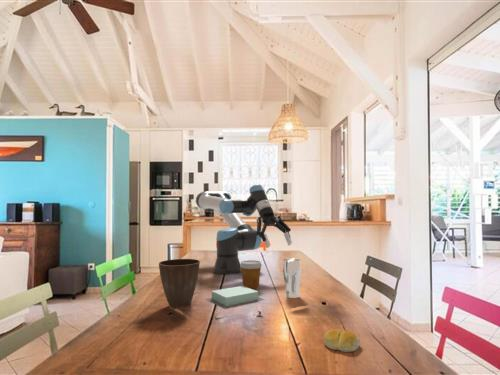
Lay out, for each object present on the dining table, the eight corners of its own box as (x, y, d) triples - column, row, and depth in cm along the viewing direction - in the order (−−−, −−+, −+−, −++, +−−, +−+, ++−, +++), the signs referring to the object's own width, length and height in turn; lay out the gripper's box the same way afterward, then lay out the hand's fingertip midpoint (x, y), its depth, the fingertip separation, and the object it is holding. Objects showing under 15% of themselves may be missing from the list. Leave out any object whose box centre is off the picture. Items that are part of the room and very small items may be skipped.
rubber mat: (205, 301, 132) (205, 299, 132) (244, 294, 142) (244, 291, 142) (223, 311, 120) (223, 308, 120) (264, 302, 130) (264, 299, 130)
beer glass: (303, 297, 137) (303, 258, 138) (298, 301, 131) (297, 261, 131) (286, 295, 140) (286, 257, 141) (281, 299, 134) (280, 260, 134)
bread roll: (329, 337, 97) (329, 322, 97) (362, 344, 92) (361, 329, 92) (318, 348, 90) (318, 332, 90) (353, 356, 85) (352, 339, 85)
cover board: (211, 299, 131) (211, 291, 132) (242, 293, 139) (242, 285, 139) (226, 306, 122) (226, 297, 123) (258, 299, 130) (258, 291, 130)
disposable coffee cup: (262, 287, 153) (262, 260, 153) (261, 293, 143) (261, 264, 144) (241, 287, 154) (241, 260, 154) (238, 292, 144) (238, 263, 145)
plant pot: (149, 309, 122) (150, 264, 123) (173, 298, 136) (173, 257, 137) (186, 314, 117) (186, 266, 118) (207, 302, 131) (206, 259, 132)
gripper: (247, 206, 174) (262, 243, 163) (287, 205, 187) (302, 239, 176) (241, 215, 179) (255, 251, 168) (280, 213, 192) (295, 246, 181)
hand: (279, 245), depth 172 cm, fingers open, 13 cm apart
